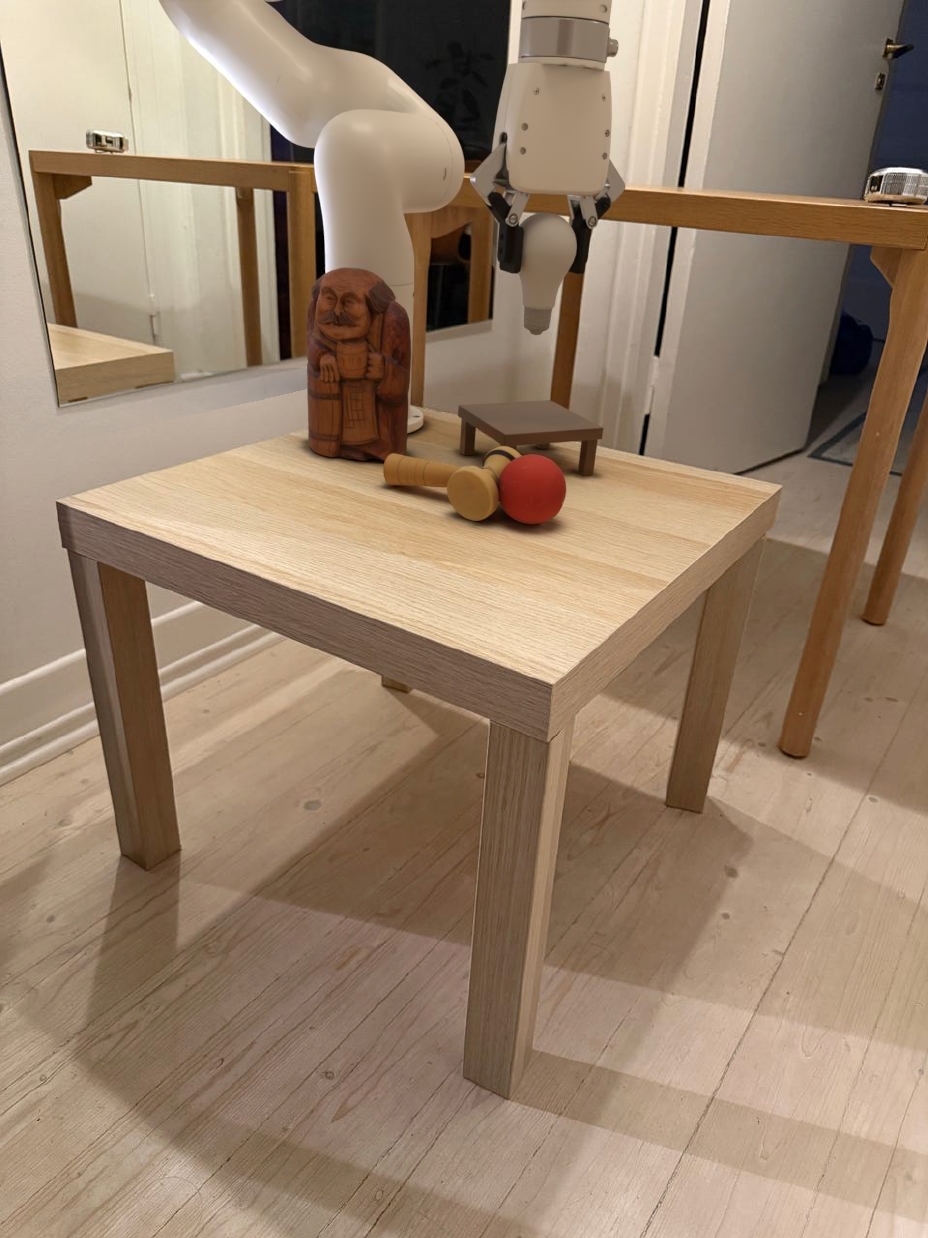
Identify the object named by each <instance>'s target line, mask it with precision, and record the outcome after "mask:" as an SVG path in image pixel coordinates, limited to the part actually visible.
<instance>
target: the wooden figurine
mask: <svg viewBox="0 0 928 1238" xmlns="http://www.w3.org/2000/svg"><path fill="white" fill-rule="evenodd" d="M311 297H312V298H311V299H310V300H309V301H308V305H307V307H306V322H305V323H306V325H305V326H306V336H305V337H306V358H307V363H306V376H307V377H306V379H307V382H306V387H307V390H306V394H307V397H306V399H307V425H308V426H307V427H308V428H307V430H308V433H307V434H308V435H307V439H308V446H309V448H310V449H311V450H312V451H313V452H314V453H316V454H318V455H321V456H324V457H329V458H335V457H339V458H344V459H347V460H353V459H355V460H357V461H368V460H380V461H383V462H385V460H386V458H387V457H388V456H389V455H390V454H393V453H395V454H400V455H404V456H405V454H406V453H407V450H408V433H407V427H408V391H409V384H410V368H411V336H410V323H409V318H408V314H407V312H406V310H405V309H404V308H403V307H402V306H401V305H400V304H399V303H398V302H396V301H395V299H396V297H395V295H394V293H393V291H392V290H391V289H390V287H389V286H388V285H387V284H386V283H385V282H384V280H383V279H381V278H380V277H379V276H378V275H376V274H374V273H372V272H370V271H367V270H364V269H359V268H338V269H335V270H332V271H330V272H327V273H326V274H325V273H324V274H322V275H321V276H320V277H319V278H318V279H316V280H315V282H314V285H312V288H311Z"/></svg>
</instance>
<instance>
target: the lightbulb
mask: <svg viewBox="0 0 928 1238" xmlns="http://www.w3.org/2000/svg"><path fill="white" fill-rule="evenodd" d="M519 226H520V227H523V229H524V236H523V248H522V260H521V270H520V272H519V273H518V276H519V279H520V283H521V292H522V306H523V308H524V310H523V328H525V329H526V330H528V332H529V334H531V335H534V336H540V335H542V333H544V332H545V331H548V330H549V329H550V325H551V319H552V312H553V308H555V306H556V301H557V295H558V292H559V289H560V287H561V284H562V283H563V281H564V279H565V277H566V276H567V274H568V272H569V269H570V267H571V265H572V264H573V262H574V259H575V256H576V250H577V242H576V236H575V233H574V231H573V229H572V227H571V226H572V225H571V224H570V223H569V222H568V221H567V219H565V218H564V217H562V216H561V215H559V214H557V213H554V212H548V211H541V212H536V213H534V214H532V215H530V216H527V218H525V219H523V221H522V222H521V223H519Z"/></svg>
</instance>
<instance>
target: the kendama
mask: <svg viewBox="0 0 928 1238" xmlns="http://www.w3.org/2000/svg"><path fill="white" fill-rule="evenodd" d="M382 471H383V472H382V473H383V478H384V481H385V482H386V484H388V485H389V486H406V487H407V486H409V487H410V486H411V487H426V488H427V487H430V488H446V494H447V498H448V501H449V503H450V504H451V506H452V508H453V509H454V510H455V511H456V513H458V514H459V515H460V516H461V517H463V518H464V519H466V520H470V521H474V522H478V521H483V520H485V519H487V518H488V517H489V516H491V515H492V514H494V513H495V512H496V510H497V508H498V506H499V504H500V506H501V508H502V509H503V510H504V512H505V513H506V514H507V515H508V516H509V517H510V518H511V519H513V520H514V521H517V522H518V523H522V524H525V525H526V524H527V525H537V524H541V523H542V524H543V523H545V522H547V521H551V520H552V519H554V518H556V516H557V515H559V513H560V511H561V509H562V508H563V505H564V502H565V500H566V497H567V496H566V495H567V483H566V478H565V474H564V472H563V470H561V468H560V466H559V465H558V464H556V462H554V461H553V460H552V459H550V458H548V457H546V456H544V455H540V454H534V453H533V454H531V453H530V454H524V455H522V454H520V452H518V451H517V449H516V450H514V449H513V448H510V447H507V446H497V447H495V448H494V447H493V448H492V449H491V450H489V451H488V452H487V453H486V454H485V455H484V458H483V460H482V467H481V468H480V467H479V466H477V465H465V466H458V465H455V464H450V463H446V462H441V461H435V460H429V459H423V458H420V457H419V458H418V457H413V456H408V455H405V454H404V455H400V454H395V453H393V454H390V455H389V456H388V457H387V458H386V460H385V461H384V463H383V469H382Z"/></svg>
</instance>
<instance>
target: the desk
mask: <svg viewBox="0 0 928 1238" xmlns="http://www.w3.org/2000/svg"><path fill="white" fill-rule="evenodd" d="M457 410H458V411H457V417H458V418H460V419H461V423H460V424H461V425H460V439H459V453H460V454H462V455H463V456H469V455H470V456H472V455H475V447H476V432H477V430H478V431H480V432H481V433H483V434H484V435H486V436H488V437H489V438H490V439H492V440H493V441H495V442H497V444H500V446H507V447H510V448H513V449H514V450H516V451H517V447H519V446H520V447H521V446H533V445H535V447H536V448H538V449H539V450H545V449H546V450H547V449H550V447H551V444H559V443H570V442H571V443H572V442H580V451H579V457H578V466H577V473H578V474H580V475H582V476H593V475H594V470H595V463H596V456H597V449H598V441H599V440H602V439H603V433H604V427H603V426H601V425H599V424H596V423H595V422H593V421H592V420H589V419H588V418H585V417H584V416H582V415H579V414H578V413H575V412H574V411H573V410H570V409H568V408H566V407H564V406H562V405H560V404H558V403H556V402H554V401H553V400H551V399H547V400H546V399H545V400H544V399H543V400H530V401H529V400H527V401H509V402H493V403H492V402H491V403H474V404H458V409H457ZM500 446H499V447H500Z"/></svg>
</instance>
